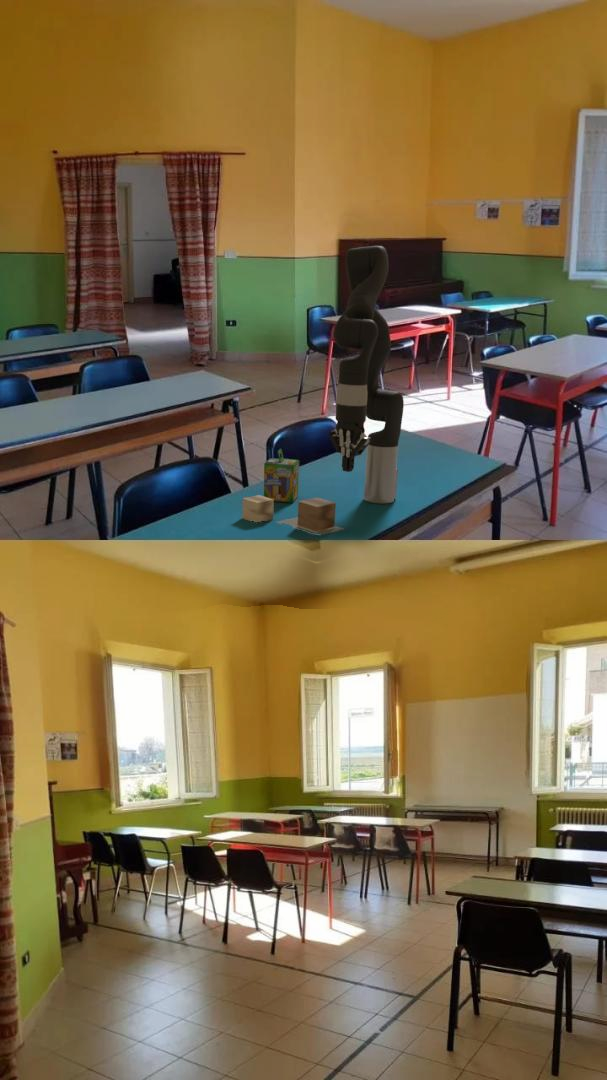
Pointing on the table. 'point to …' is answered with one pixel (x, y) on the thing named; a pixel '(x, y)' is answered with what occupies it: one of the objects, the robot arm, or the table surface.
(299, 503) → the walnut block
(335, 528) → the reading mat
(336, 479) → the table surface
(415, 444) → the table surface
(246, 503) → the beech block
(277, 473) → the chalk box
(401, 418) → the robot arm
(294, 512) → the table surface
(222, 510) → the table surface
